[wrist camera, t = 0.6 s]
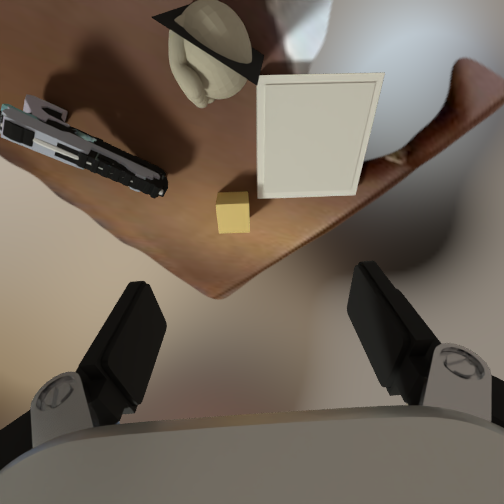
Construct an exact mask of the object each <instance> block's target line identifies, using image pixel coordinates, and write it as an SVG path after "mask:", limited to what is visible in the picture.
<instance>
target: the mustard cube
mask: <svg viewBox="0 0 504 504" xmlns="http://www.w3.org/2000/svg"><path fill="white" fill-rule="evenodd" d="M216 212H217V220H218V229H219V233H242V232H250V219H249V198H248V191H245V192H218V195H217V200H216Z"/></svg>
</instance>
